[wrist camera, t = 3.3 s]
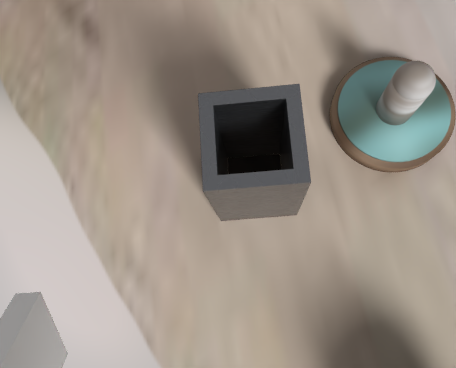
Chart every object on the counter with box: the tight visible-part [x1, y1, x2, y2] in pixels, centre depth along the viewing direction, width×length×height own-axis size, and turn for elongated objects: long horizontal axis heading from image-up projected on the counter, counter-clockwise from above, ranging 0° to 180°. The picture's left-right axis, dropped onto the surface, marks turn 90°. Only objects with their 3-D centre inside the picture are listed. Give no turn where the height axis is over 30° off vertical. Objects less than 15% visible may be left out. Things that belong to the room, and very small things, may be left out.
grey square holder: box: [198, 84, 311, 221], centre depth 34 cm, size 7×7×12 cm
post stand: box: [330, 57, 455, 172], centre depth 36 cm, size 11×11×9 cm
